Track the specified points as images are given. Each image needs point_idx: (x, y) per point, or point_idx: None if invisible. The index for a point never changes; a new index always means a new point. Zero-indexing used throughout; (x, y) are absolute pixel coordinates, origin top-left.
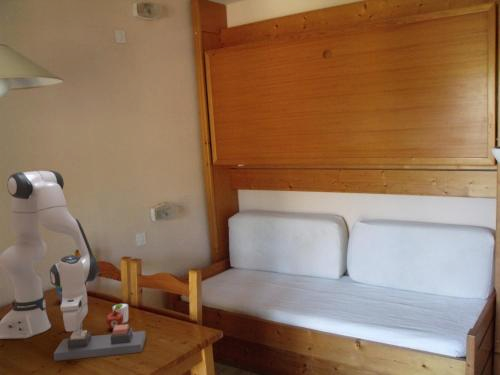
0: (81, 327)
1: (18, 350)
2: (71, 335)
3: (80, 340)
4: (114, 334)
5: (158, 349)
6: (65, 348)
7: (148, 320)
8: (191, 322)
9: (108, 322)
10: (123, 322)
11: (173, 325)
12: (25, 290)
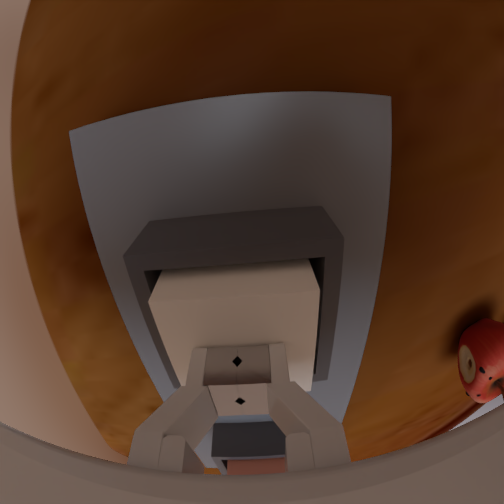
0: (275, 415)
1: None
2: (185, 303)
3: (163, 352)
4: (228, 466)
5: None
6: (151, 195)
7: (463, 395)
8: None
9: (481, 353)
10: None
11: (383, 450)
12: None
